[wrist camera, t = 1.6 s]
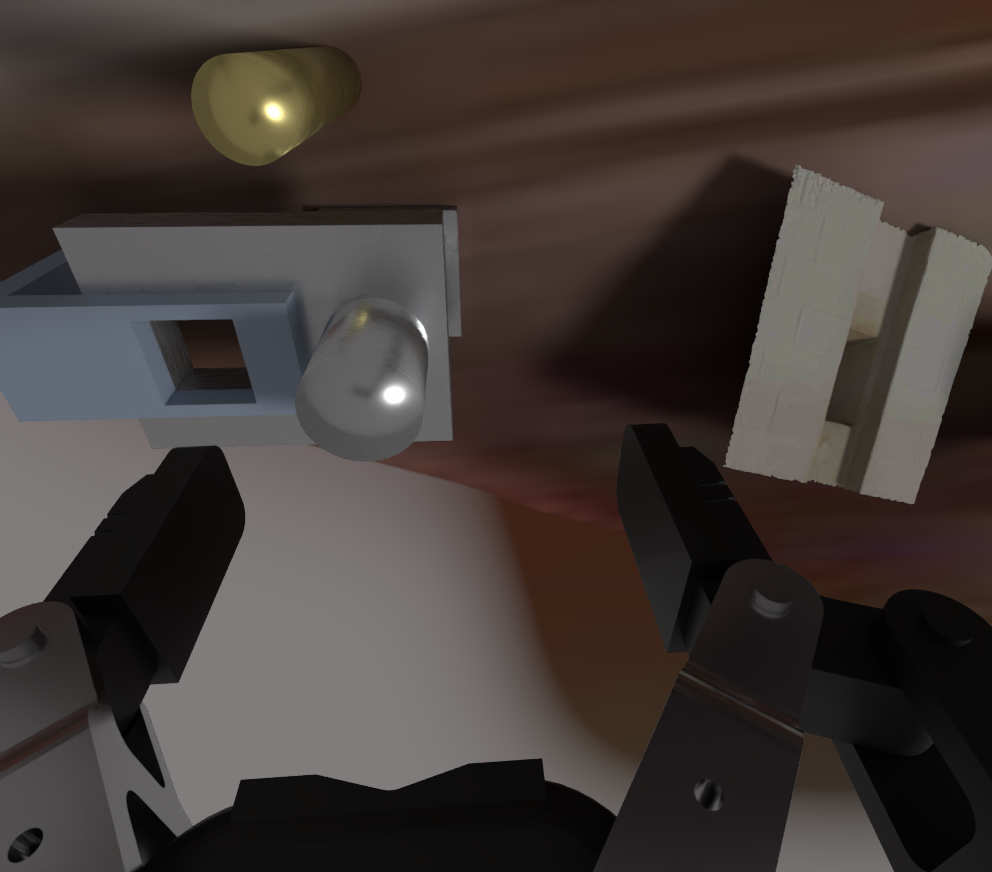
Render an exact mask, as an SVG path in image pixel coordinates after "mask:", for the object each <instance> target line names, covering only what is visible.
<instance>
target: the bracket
mask: <svg viewBox="0 0 992 872" xmlns="http://www.w3.org/2000/svg"><path fill="white" fill-rule="evenodd" d="M214 319H232V320H233V324H234V327H235V330H236V334H237V337H238V341H239V344H240V347H241V351H242V354H243V358H244V361H245V365H246V368H247V371H248V375H249V378H250V382H251V385H252V388H253V389H230V390H188V391H176V389H175V387H174V384H173V382H172V379H171V376H170V374H169V371H168V369H167V366H166V364H165V361H164V358H163V356H162V353H161V351H160V348H159V346H158V343H157V340H156V338H155V335H154V333H153V330H152V328H151V325H150V322H149V321H156V320H214ZM307 366H308V360H307V356H306V351H305V346H304V342H303V337H302V333H301V328H300V324H299V319H298V314H297V310H296V305H295V301H294V296H293V291H286V292H220V293H153V294H86V295H82V292H81V290H80V288H79V286H78V284H77V281H76V279H75V277H74V275H73V272H72V270H71V268H70V266H69V264H68V261H67V259H66V257H65V255H64V253H63V250H62V249H61V250H59V251H58V252H56V253H54V254H52V255H50V256H48V257H46V258H45V259H43V260H41V261H39V262H37V263H35V264H33V265H31V266H30V267H28V268H26V269H24V270H22V271H20V272H18V273H17V274H15V275H13V276H11V277H9V278H7V279H5V280H4V281H2V282H0V390H1V392H2V393H3V395H4V396H5V398H6V400H7V401H8V403H9V405H10V406H11V408H12V410H13V411H14V413H15V415H16V416H17V418H18V420H19V421H53V420H54V421H55V420H93V419H131V418H172V417H211V416H250V415H288V414H296V410H295V397H296V392H297V389H298V386H299V384H300V382H301V380H302V377H303V375H304V373H305V371H306V369H307Z"/></svg>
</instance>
